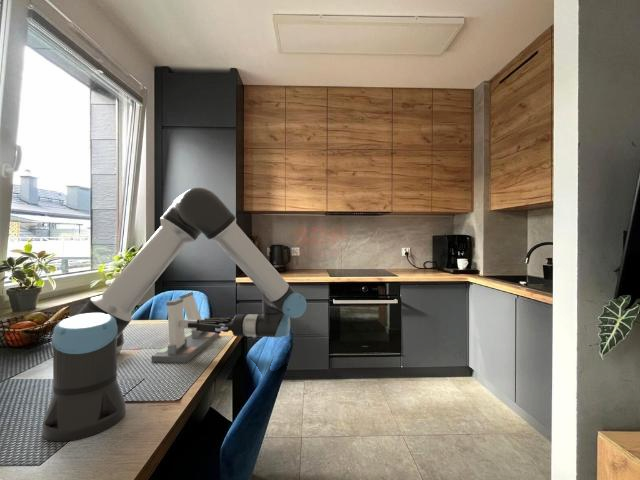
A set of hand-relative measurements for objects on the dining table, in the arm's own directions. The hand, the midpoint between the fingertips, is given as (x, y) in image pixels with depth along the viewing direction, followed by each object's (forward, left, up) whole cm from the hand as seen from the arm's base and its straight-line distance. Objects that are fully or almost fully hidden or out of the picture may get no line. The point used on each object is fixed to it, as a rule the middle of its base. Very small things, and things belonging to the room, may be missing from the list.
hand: (180, 323), depth 113 cm
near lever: (0, +1, -8) cm, 8 cm away
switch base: (+8, -3, -11) cm, 14 cm away
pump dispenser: (+11, +24, -12) cm, 29 cm away
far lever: (+16, -7, -8) cm, 20 cm away
